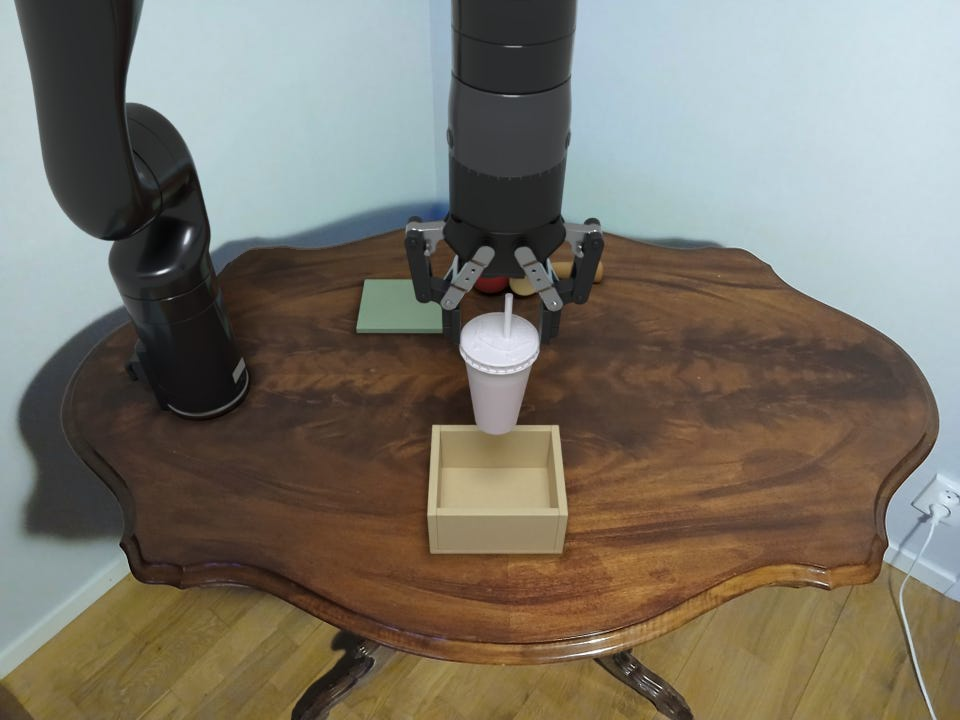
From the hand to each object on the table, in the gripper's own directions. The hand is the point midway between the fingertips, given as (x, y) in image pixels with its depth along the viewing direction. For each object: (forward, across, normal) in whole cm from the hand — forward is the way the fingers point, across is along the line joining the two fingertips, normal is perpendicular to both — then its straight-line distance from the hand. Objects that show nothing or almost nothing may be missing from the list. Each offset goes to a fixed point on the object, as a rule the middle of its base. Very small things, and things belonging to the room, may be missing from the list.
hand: (499, 337), depth 57 cm
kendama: (+23, -6, -36) cm, 43 cm away
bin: (+23, 0, 0) cm, 23 cm away
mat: (+23, +11, -31) cm, 40 cm away
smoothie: (+10, 0, 0) cm, 10 cm away
